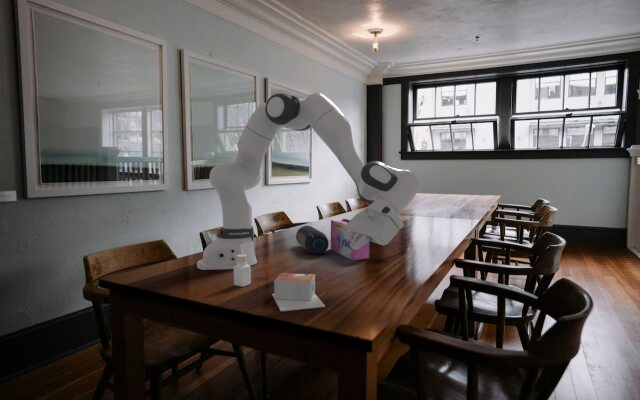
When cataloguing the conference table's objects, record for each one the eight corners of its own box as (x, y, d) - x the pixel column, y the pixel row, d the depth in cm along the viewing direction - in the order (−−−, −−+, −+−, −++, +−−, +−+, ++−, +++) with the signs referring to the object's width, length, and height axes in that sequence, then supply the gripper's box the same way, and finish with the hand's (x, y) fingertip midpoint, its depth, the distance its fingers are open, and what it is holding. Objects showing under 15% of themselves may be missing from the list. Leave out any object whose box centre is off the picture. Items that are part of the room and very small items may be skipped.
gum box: (328, 249, 181) (328, 219, 180) (344, 247, 184) (344, 218, 183) (352, 260, 159) (352, 226, 158) (370, 258, 162) (370, 225, 161)
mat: (280, 311, 104) (280, 310, 104) (272, 294, 117) (272, 293, 117) (325, 306, 107) (325, 305, 107) (311, 291, 120) (311, 290, 120)
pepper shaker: (242, 287, 124) (241, 257, 124) (233, 285, 127) (232, 255, 126) (251, 284, 128) (250, 255, 127) (242, 282, 130) (242, 253, 129)
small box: (311, 281, 110) (273, 280, 112) (311, 301, 111) (273, 299, 112) (315, 273, 118) (280, 272, 120) (315, 292, 119) (280, 290, 120)
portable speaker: (294, 245, 189) (294, 224, 188) (314, 244, 192) (314, 223, 191) (307, 257, 165) (307, 233, 164) (330, 255, 168) (330, 232, 167)
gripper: (358, 203, 131) (330, 235, 128) (395, 211, 113) (365, 247, 109) (369, 216, 133) (342, 247, 130) (407, 225, 115) (378, 262, 112)
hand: (353, 248), depth 119 cm, fingers closed
